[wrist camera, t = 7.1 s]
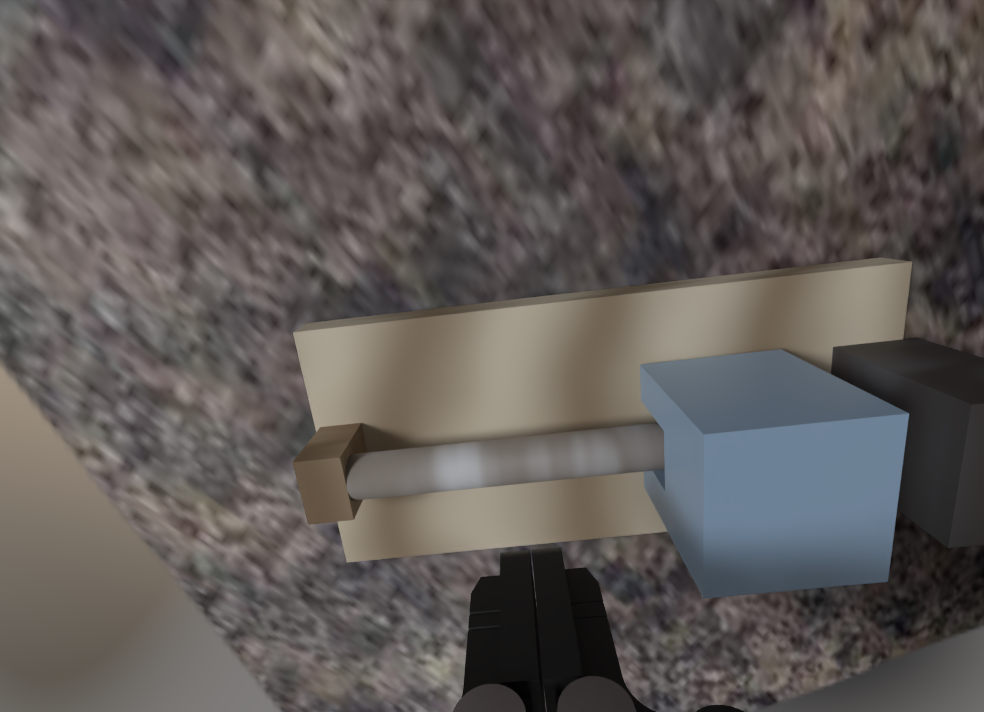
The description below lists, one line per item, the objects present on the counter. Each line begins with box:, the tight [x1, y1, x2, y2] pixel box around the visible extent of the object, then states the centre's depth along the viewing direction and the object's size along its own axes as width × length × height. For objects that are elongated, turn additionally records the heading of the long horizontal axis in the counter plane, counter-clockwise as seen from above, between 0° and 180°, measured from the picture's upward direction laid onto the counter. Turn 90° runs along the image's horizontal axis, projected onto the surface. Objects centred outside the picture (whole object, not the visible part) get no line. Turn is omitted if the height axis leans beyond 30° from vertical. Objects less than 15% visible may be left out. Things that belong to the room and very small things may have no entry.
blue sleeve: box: [640, 349, 909, 598], centre depth 16 cm, size 5×5×6 cm
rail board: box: [293, 258, 984, 562], centre depth 17 cm, size 22×10×7 cm, turn 97°
